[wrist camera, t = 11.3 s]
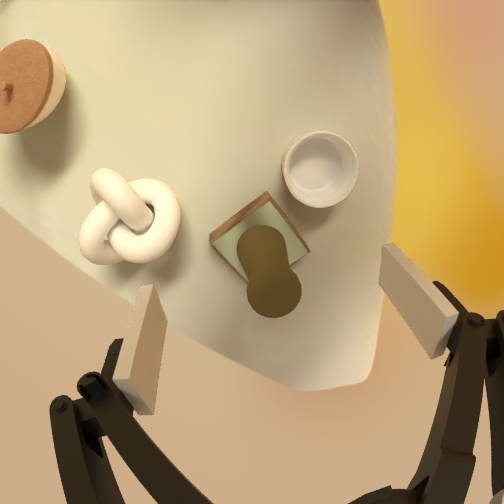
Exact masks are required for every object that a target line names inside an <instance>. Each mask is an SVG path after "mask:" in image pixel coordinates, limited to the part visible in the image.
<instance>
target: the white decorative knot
mask: <svg viewBox="0 0 504 504" xmlns="http://www.w3.org/2000/svg"><path fill="white" fill-rule="evenodd" d="M90 189H91V192H92V195H93V198H94V201H95V203H96V205H97V206H96V207H95V208H94V209H93V210H92V211H91V212H90V214H89V215H88V216H87V217H86V219H85V220H84V222H83V224H82V226H81V229H80V232H79V238H78V242H79V247H80V251H81V253H82V255H83V256H84V257H85V258H86V259H87V260H89V261H90V262H91V263H94V264H98V265H106V264H114V263H117V262H120V261H123V260H126V261H128V262H131V263H147V262H151V261H153V260H155V259H157V258H159V257H160V256H161V255H163V254H164V253H165V252H166V251H167V250H168V249H169V248H170V246H171V245H172V243H173V241H174V240H175V237H176V235H177V232H178V230H179V226H180V221H181V209H180V204H179V201H178V199H177V197H176V195H175V193H174V192H173V191H172V189H171V188H170V187H169V186H168V185H166V184H165V183H163V182H161V181H158V180H155V179H139V180H136V181H133V182H130V183H127V182H126V181H125V180H124V179H123V178H122V177H121V176H120V175H119V174H118V173H117V172H115V171H114V170H111V169H107V168H102V169H100V170H97V171H96V172H95V173H94V174H93V175H92V176H91V180H90ZM146 204H150V205H152V206H153V207H154V211H155V218H154V214H153V213H152V211H151V210H150V209H149V208H148V207H147V205H146ZM106 235H107V236H108V239H109V240H104V239H105V237H106Z"/></svg>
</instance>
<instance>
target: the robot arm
mask: <svg viewBox="0 0 504 504" xmlns="http://www.w3.org/2000/svg"><path fill="white" fill-rule="evenodd" d="M379 285H380V286H381V288H382V289H383V290H384V292H385V293H386V294H387V296H388V297H389V299H390V300H391V301H392V303H393V304H394V306H395V307H396V308H397V310H398V311H399V313H400V314H401V315H402V317H403V318H404V320H405V321H406V323H407V324H408V326H409V327H410V328H411V330H412V331H413V333H414V334H415V336H416V337H417V339H418V340H419V342H420V343H421V345H422V346H423V348H424V349H425V351H426V353H427V354H428V356H429V357H430V359H434V358H436V357H439V356H441V355H443V354H444V351H445V349H446V346H447V348H448V349H449V350H450V353H449V355H448V358H447V360H446V362H445V364H444V366H446V371H445V376H444V381H443V385H442V390H441V394H440V398H439V402H438V407H437V410H436V414H435V418H434V421H433V424H432V428H431V431H430V434H429V437H428V441H427V444H426V447H425V450H424V453H423V455H422V458H421V461H420V464H419V467H418V469H417V472H416V474H415V475H414V477H413V479H412V480H411V482H410V484H409V486H408V488H407V489H392V488H391V485H390V486H387V487H384V488H381V489H379V490H376V491H373V492H370V493H367V494H365V495H363V496H361V497H359V498H358V499H356V500H354V501H352V502H350V503H348V504H464V501H465V498H466V495H467V491H468V488H469V485H470V481H471V478H472V474H473V471H474V466H475V461H476V457H475V456H474V455H473V448H474V443H475V438H476V433H477V428H478V422H479V416H480V410H481V403H482V395H483V385H484V379H485V385H486V392H487V400H488V409H489V418H490V431H491V452H492V453H491V457H492V458H491V461H492V470H491V471H492V472H491V475H492V476H491V478H492V492H493V498H492V499H491V501H490V504H504V310H502V311H500V312H498V314H497V317H496V319H484V318H483V317H482V316H481V315H479V314H477V313H472V312H470V313H469V312H468V311H467V310H466V309H465V308H464V306H463V305H462V304H461V303H460V302H459V301H458V300H457V299H456V297H454V295H453V294H452V293H451V292H450V291H449V290H448V289H447V288H446V287H445V286H444V285H443V284H441V283H439V282H438V281H434V282H431V281H430V280H429V279H428V278H427V277H426V276H425V274H424V273H422V271H421V270H420V269H419V268H418V267H417V266H416V265H415V264H414V263H413V262H412V261H411V260H410V259H409V258H408V257H407V256H406V255H405V254H404V253H403V252H402V251H401V250H400V249H399V248H398V247H397V246H396V245H395V244H394V243H392V244H386V245H383V247H382V258H381V268H380V277H379ZM167 322H168V321H167V319H166V316H165V313H164V311H163V308H162V306H161V303H160V300H159V298H158V295H157V292H156V290H155V287H154V284H150V285H144V286H141V287H140V290H139V293H138V296H137V299H136V302H135V305H134V308H133V311H132V314H131V318H130V321H129V324H128V327H127V330H126V333H125V337H124V338H123V339H115V340H114V341H113V343H112V344H111V345H110V346H109V350H108V353H107V356H106V359H105V363H104V365H103V368H102V372H101V374H100V373H98V372H89V373H87V374H85V375H83V376H82V377H81V378H80V380H79V381H78V383H77V390H78V392H79V393H80V395H81V396H82V397H83V398H81V399H77V400H74V401H72V400H71V398H69V397H68V396H66V395H62V396H58V397H56V398H55V399H54V400H53V401H52V403H51V405H50V410H49V411H50V420H51V428H52V435H53V441H54V447H55V453H56V458H57V464H58V468H59V473H60V477H61V482H62V485H63V490H64V494H65V497H66V501H67V504H125V502H124V499H123V497H122V495H121V492H120V490H119V487H118V485H117V482H116V479H115V477H114V474H113V471H112V469H111V465H110V463H109V460H108V457H107V454H106V450H105V447H104V445H103V441H102V436H106V435H107V436H108V438H109V439H110V441H111V442H112V444H113V445H114V447H115V448H116V450H117V451H118V453H119V454H120V456H121V457H122V458H123V460H124V461H125V463H126V464H127V465H128V467H129V468H130V469H131V471H132V472H133V473H134V475H135V476H136V477H137V478H138V480H139V481H140V482H141V484H142V485H143V486H144V487H145V489H146V490H147V491H148V492H149V494H150V495H151V496H152V497H153V498H154V499H155V501H156V502H157V503H158V504H213V503H212V502H211V501H210V500H209V499H208V498H207V497H206V496H204V494H202V493H201V492H200V491H199V490H198V489H197V488H196V487H195V486H194V485H193V484H192V483H191V482H190V481H189V480H188V479H187V478H186V477H185V476H184V475H183V474H182V473H181V472H180V471H179V470H178V469H177V468H176V467H175V466H174V464H173V463H172V462H171V461H170V460H169V459H168V458H167V457H166V456H165V455H164V453H163V452H162V451H161V450H160V449H159V448H158V447H157V445H156V444H155V443H154V442H153V441H152V440H151V438H150V437H149V436H148V435H147V434H146V432H145V431H144V430H143V429H142V427H141V426H140V425H139V424H138V422H137V421H136V420H135V418H134V417H133V411H134V410H135V411H136V412H137V414H138V415H154V410H155V401H156V394H157V386H158V379H159V372H160V365H161V358H162V352H163V344H164V339H165V333H166V327H167Z"/></svg>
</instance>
